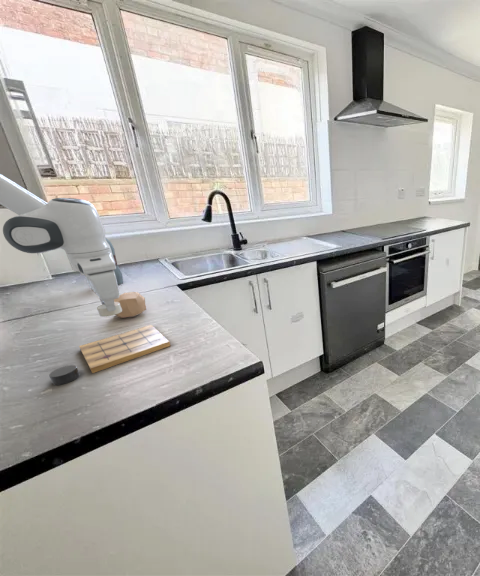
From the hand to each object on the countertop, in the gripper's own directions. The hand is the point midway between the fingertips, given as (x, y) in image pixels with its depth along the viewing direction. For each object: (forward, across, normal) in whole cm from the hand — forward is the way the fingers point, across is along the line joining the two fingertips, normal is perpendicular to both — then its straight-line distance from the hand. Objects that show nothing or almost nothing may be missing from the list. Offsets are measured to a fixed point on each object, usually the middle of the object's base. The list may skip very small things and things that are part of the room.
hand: (109, 307), depth 88 cm
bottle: (+14, -79, +12) cm, 81 cm away
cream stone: (+2, 0, 0) cm, 2 cm away
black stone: (+13, +7, -13) cm, 20 cm away
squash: (+14, -31, +9) cm, 35 cm away
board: (+13, 0, +1) cm, 13 cm away
